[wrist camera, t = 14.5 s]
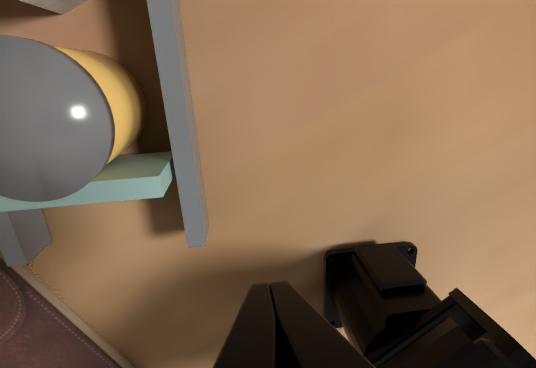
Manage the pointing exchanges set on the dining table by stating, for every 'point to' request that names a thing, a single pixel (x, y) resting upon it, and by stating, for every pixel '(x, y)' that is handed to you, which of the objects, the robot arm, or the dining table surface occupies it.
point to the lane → (181, 139)
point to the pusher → (114, 183)
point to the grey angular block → (56, 4)
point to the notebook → (46, 328)
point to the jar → (61, 117)
